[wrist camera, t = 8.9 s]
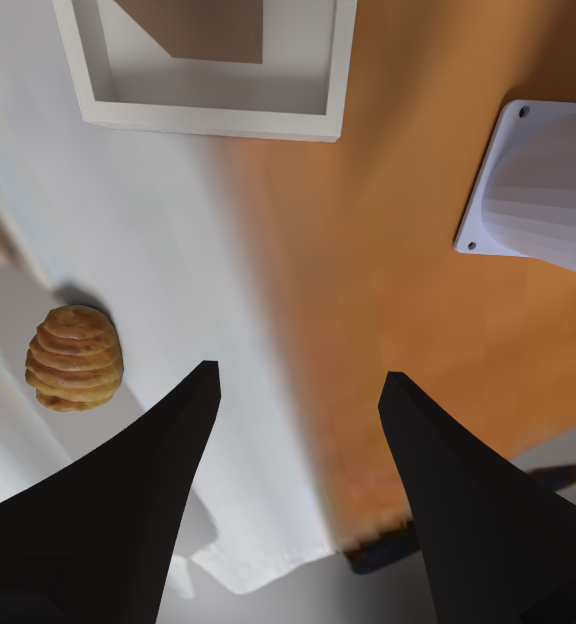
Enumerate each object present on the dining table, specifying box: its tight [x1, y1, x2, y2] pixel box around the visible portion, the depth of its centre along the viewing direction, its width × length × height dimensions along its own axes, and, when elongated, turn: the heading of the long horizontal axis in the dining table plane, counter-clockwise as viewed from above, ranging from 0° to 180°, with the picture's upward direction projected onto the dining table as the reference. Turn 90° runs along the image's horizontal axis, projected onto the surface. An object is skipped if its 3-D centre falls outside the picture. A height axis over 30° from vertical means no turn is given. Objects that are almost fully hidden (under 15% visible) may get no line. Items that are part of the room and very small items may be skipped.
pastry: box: [25, 305, 124, 412], centre depth 21 cm, size 9×7×4 cm
